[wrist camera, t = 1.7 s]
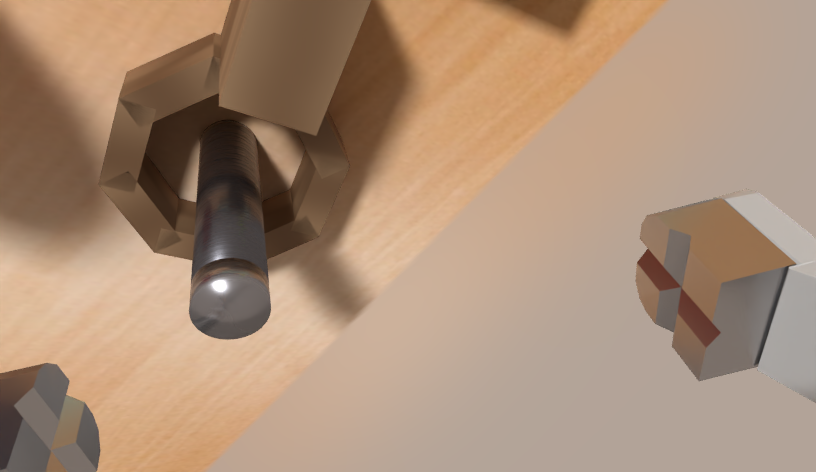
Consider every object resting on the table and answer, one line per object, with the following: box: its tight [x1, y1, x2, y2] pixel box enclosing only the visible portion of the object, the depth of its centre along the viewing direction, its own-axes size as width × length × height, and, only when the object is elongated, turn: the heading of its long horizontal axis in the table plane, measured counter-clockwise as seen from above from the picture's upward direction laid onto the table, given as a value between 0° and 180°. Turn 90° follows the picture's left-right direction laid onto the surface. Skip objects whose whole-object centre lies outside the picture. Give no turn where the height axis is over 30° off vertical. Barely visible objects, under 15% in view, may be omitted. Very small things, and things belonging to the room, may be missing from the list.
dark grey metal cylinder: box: [189, 120, 271, 339], centre depth 22 cm, size 2×2×10 cm
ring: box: [98, 0, 371, 260], centre depth 22 cm, size 8×13×6 cm, turn 155°
